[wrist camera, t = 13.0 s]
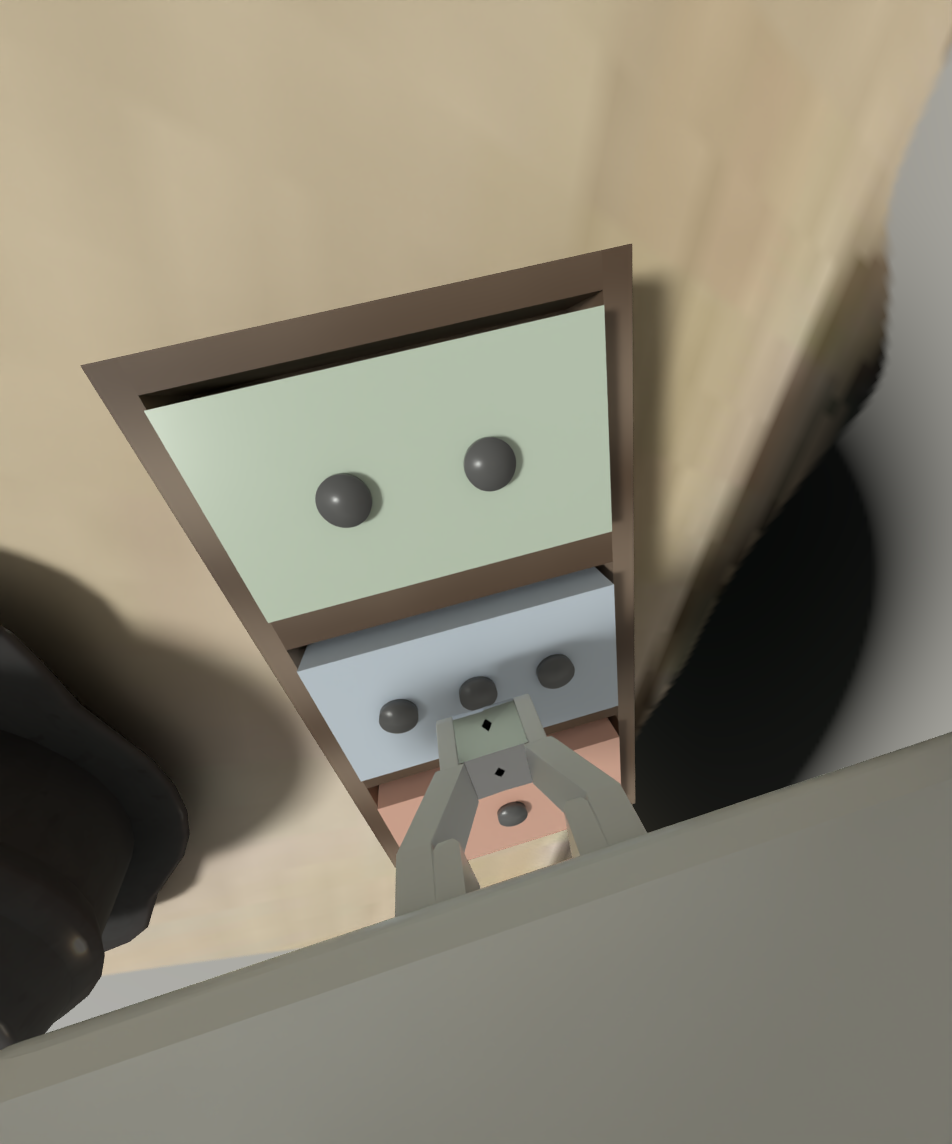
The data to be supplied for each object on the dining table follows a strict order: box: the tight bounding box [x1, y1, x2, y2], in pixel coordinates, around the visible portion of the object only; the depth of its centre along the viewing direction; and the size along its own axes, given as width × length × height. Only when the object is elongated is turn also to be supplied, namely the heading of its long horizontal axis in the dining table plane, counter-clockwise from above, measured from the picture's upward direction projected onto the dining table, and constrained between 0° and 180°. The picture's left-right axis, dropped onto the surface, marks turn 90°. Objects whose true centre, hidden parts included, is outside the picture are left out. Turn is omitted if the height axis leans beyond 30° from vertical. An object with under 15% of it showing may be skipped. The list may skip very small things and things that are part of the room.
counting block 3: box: [377, 717, 621, 860], centre depth 19 cm, size 6×11×4 cm, turn 102°
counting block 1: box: [144, 305, 612, 623], centre depth 11 cm, size 6×11×4 cm, turn 102°
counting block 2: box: [297, 567, 618, 781], centre depth 15 cm, size 6×11×4 cm, turn 102°
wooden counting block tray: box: [81, 244, 635, 868], centre depth 16 cm, size 24×13×4 cm, turn 12°
